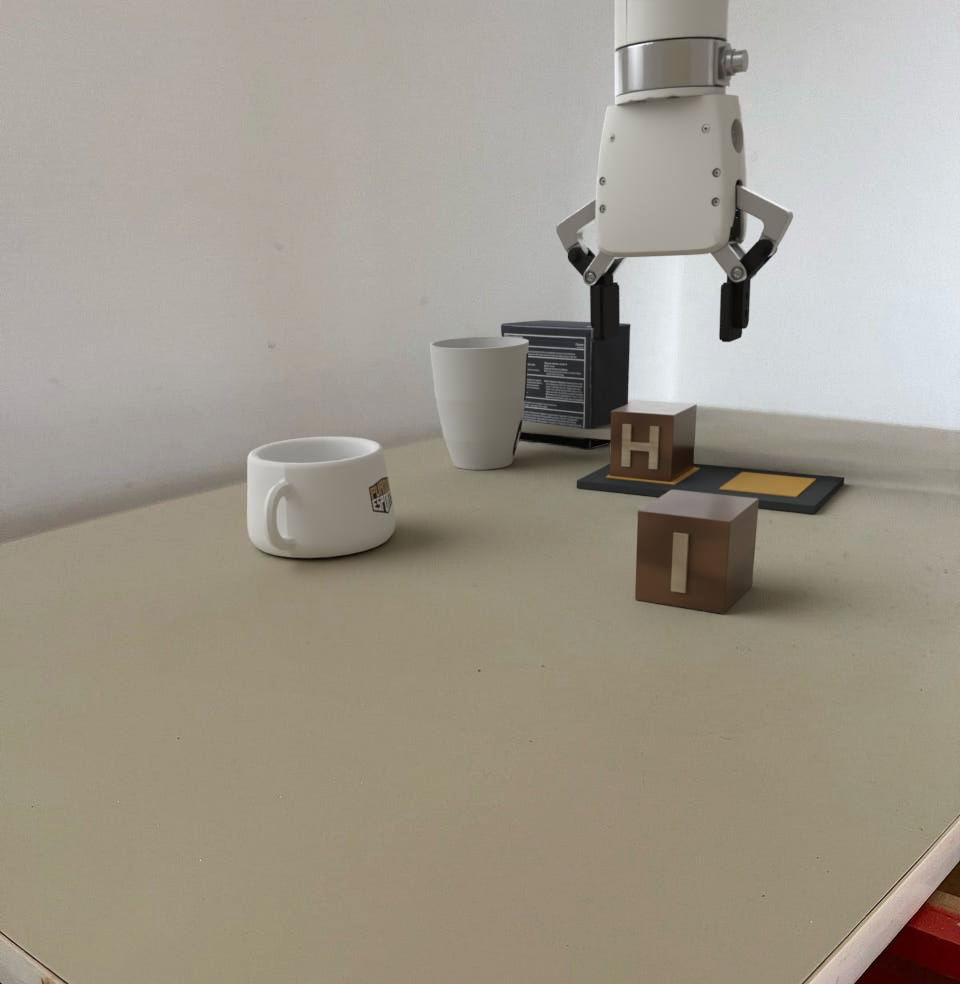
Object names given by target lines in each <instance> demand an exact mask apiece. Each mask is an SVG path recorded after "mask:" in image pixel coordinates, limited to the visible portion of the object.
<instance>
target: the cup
mask: <svg viewBox="0 0 960 984" xmlns="http://www.w3.org/2000/svg"><path fill="white" fill-rule="evenodd" d="M528 345H529V341H528V340H526V339H522V338H514V337H502V336H471V337H470V336H469V337H457V338H447V339H441V340H436V341H432V342H430V343H429V352H430V363H431V371H432V382H433V388H434V397H435V401H436V407H437V411H438V417H439V422H440V426H441V432H442V435H443V439H444V441H445V444H446V448H447V450H448V452H449V455H450V458H451V461H452V464H453V466H454V467H456V468H459V469H463V470H470V471H471V470H472V471H484V470H496V469H502V468H506V467H509V466H510V465H512V464H513V461H514V458H515V454H516V452H517V447H518V444H519V441H520V440H519V437H520V434H521V432H522V426H523V421H522V420H523V413H524V406H525V399H526V392H527V368H528Z"/></svg>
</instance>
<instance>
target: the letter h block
mask: <svg viewBox="0 0 960 984" xmlns="http://www.w3.org/2000/svg"><path fill="white" fill-rule="evenodd" d="M697 407H698V405H697V403H684V402H683V403H682V402H668V401H667V402H666V401H652V400H639V399H637V400H634V401H632V402H628V404H627V405H624V406H622V407H620V408H617V409H615V410H612V411H611V424H610V439H609V440H610V443H609V446H610V448H609V450H610V451H609V464H610V476H616V477H626V478H636V479H646V480H655V481H665V482H672V481H673V480H675V479H677V478H678V477H680V476H681V475H683V474H685V473H686V472H688V471H690V470H691V469H693V467H694V464H695V448H696V447H695V446H696V444H695V443H696V427H697V411H698V410H697Z"/></svg>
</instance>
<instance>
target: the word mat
mask: <svg viewBox="0 0 960 984" xmlns="http://www.w3.org/2000/svg"><path fill="white" fill-rule="evenodd" d="M844 485H845V477H843V476H835V475H834V476H833V475H832V476H831V475H824V474H823V475H822V474H810V473H800V472H789V471H780V470H779V471H778V470H767V469H758V468H745V467H736V466H735V467H734V466H725V465H724V466H723V465H714V464H704V463H703V464H702V463H694V467H693V469H691V470H690V471H688V472H686V473H685V474H683V475H681V476H680V477H678V478H677V479H675V480H673V481H672V482H665V481H655V480H646V479H636V478H626V477H616V476H610V463H608V464H606V465H604V466H602V467H600V468H598V469H596V470H594V471H593V472H591V473H589V474H587V475H585V476H583V477H581V478H579V479H577V480H576V489H583V490H592V491H600V492H601V491H602V492H610V493H620V494H627V495H637V496H638V495H639V496H647V497H654V498H655V497H657V498H659V497H661V496H662V495H664V494H665V493H667V492H669V491H670V490H682V491H691V492H700V493H710V494H719V495H729V496H738V497H747V498H757V499H759V504H758V509H764V510H773V511H782V512H792V513H798V514H809V515H815V514H816V513H817V512H818V511H819V510H820V509H821V508H822V507H823V506H824V505H825V504H826V503H827V502H828V501H829V500H830V499H831V498H832V497H833V496H834V495H835V494H836V493H837V492H838V491H839V490H840V489H841V488H842V487H843V486H844Z"/></svg>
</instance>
